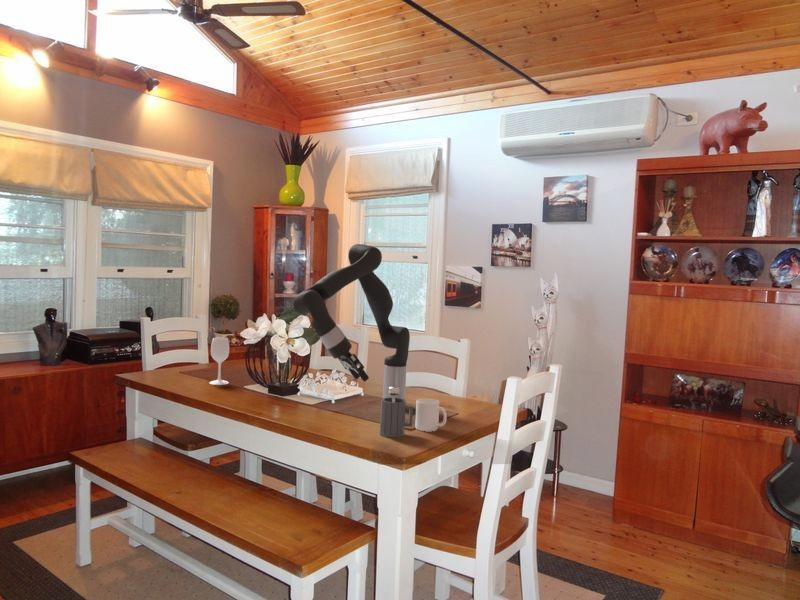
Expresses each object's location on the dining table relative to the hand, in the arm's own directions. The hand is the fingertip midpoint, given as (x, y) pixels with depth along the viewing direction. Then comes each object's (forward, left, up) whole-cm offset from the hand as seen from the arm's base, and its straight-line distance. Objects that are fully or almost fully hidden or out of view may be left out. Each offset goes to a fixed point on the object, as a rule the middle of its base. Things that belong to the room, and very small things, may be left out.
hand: (362, 378), depth 202 cm
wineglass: (-78, -59, -19) cm, 99 cm away
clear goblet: (+2, +11, -14) cm, 18 cm away
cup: (-4, +26, -19) cm, 32 cm away
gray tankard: (+2, +12, -19) cm, 22 cm away
